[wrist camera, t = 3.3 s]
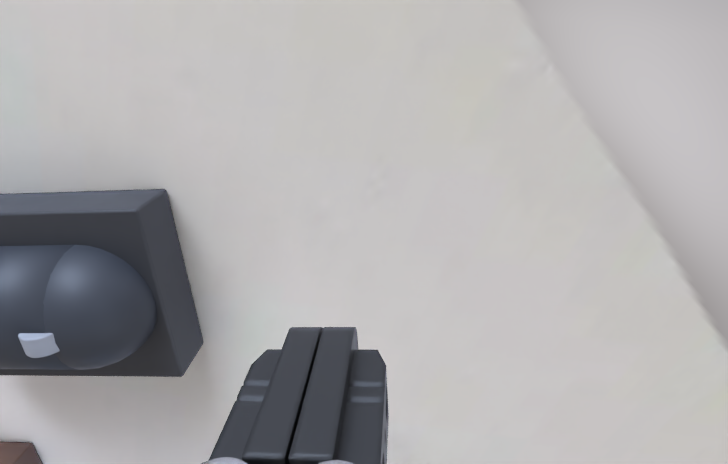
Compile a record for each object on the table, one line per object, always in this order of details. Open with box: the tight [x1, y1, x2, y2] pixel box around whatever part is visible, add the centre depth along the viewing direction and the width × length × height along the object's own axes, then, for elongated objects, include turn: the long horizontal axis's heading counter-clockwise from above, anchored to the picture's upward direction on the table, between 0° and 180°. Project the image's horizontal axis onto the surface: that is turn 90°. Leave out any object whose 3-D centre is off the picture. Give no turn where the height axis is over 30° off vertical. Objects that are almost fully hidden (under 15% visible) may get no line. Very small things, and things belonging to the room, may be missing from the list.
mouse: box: [0, 189, 203, 377], centre depth 14 cm, size 8×6×4 cm
